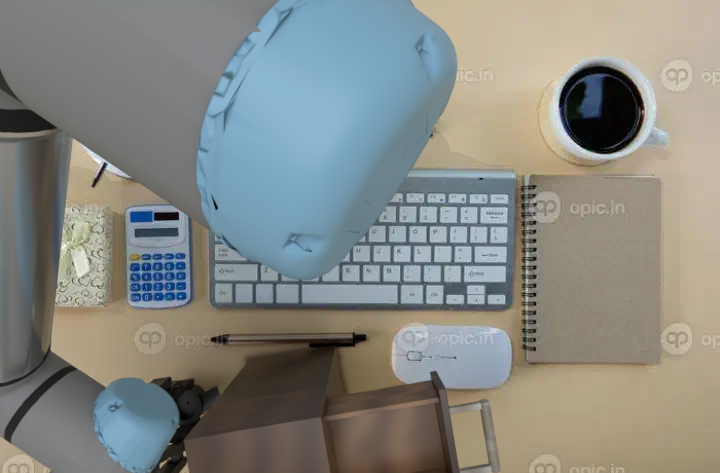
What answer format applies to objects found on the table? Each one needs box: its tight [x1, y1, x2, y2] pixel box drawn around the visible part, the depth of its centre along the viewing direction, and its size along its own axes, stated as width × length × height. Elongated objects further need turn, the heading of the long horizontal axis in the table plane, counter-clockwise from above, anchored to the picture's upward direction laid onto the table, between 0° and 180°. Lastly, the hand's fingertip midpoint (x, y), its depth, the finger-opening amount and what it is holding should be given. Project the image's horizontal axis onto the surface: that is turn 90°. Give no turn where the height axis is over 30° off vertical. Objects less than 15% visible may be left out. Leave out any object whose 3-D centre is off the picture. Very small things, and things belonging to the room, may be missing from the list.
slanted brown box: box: [184, 344, 345, 473], centre depth 64 cm, size 15×13×30 cm
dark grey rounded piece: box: [173, 383, 221, 427], centre depth 75 cm, size 8×10×3 cm
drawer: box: [323, 370, 502, 473], centre depth 54 cm, size 19×13×7 cm
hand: (189, 401), depth 76 cm, fingers closed on dark grey rounded piece, 6 cm apart
